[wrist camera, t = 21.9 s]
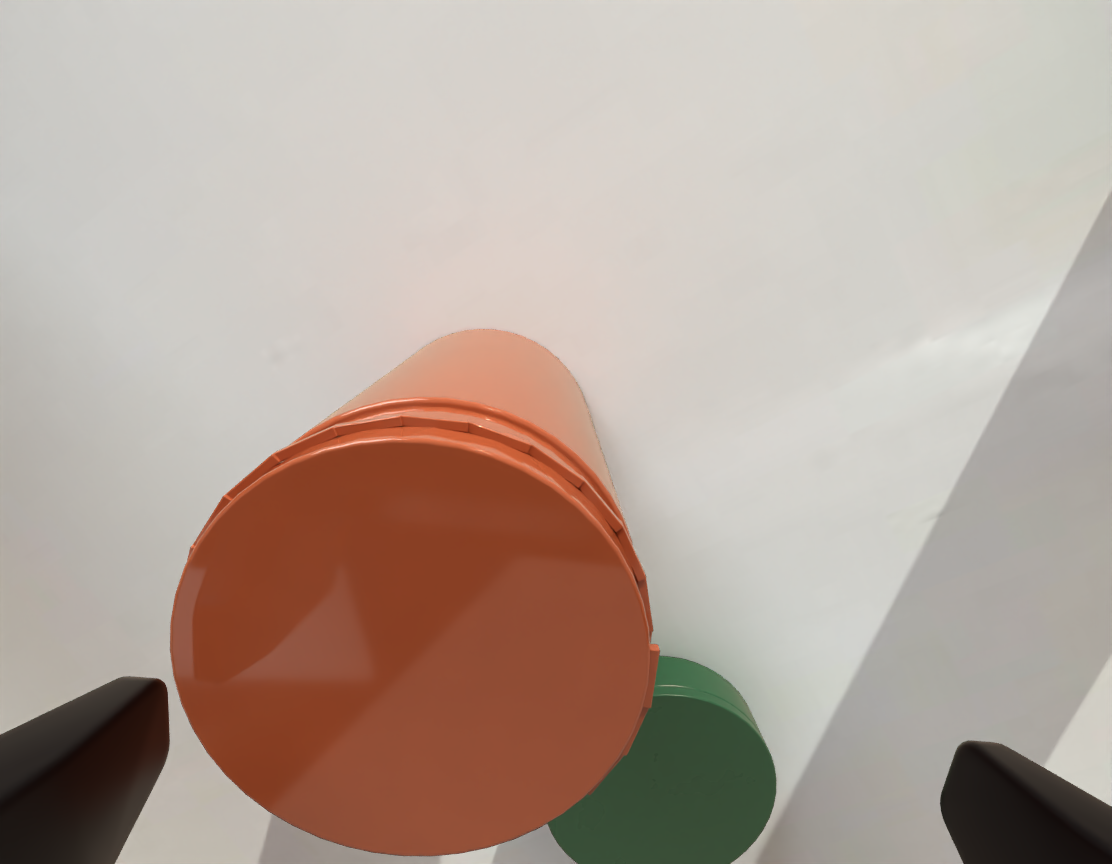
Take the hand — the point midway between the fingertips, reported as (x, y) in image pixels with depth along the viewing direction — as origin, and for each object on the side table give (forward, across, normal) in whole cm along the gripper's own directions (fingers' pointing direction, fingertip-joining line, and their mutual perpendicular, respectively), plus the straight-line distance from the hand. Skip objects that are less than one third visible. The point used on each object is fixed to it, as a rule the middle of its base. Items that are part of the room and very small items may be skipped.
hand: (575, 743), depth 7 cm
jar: (+11, +2, 0) cm, 11 cm away
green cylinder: (+10, -4, +10) cm, 14 cm away
